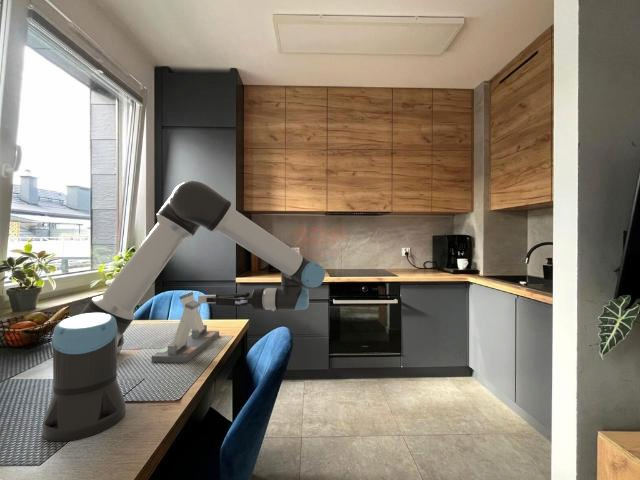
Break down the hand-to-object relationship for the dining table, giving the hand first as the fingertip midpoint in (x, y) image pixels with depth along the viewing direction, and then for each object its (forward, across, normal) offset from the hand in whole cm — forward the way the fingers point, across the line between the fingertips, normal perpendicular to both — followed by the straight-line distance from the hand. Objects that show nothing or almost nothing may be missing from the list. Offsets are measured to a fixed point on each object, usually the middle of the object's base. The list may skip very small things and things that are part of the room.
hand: (199, 299), depth 113 cm
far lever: (+8, +18, -17) cm, 26 cm away
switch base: (+8, +9, -20) cm, 23 cm away
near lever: (+8, 0, -17) cm, 19 cm away
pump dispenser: (+33, -1, -20) cm, 39 cm away
